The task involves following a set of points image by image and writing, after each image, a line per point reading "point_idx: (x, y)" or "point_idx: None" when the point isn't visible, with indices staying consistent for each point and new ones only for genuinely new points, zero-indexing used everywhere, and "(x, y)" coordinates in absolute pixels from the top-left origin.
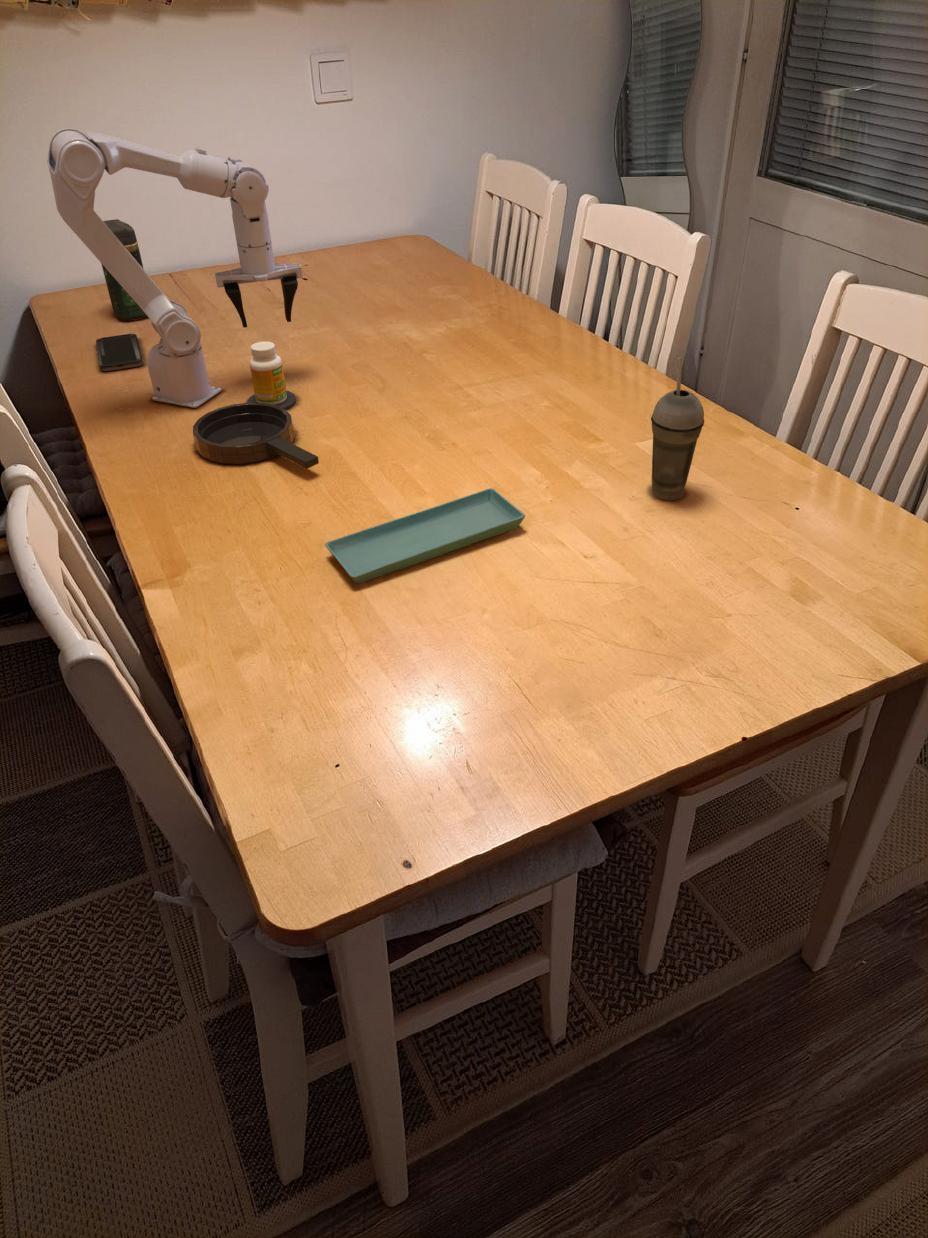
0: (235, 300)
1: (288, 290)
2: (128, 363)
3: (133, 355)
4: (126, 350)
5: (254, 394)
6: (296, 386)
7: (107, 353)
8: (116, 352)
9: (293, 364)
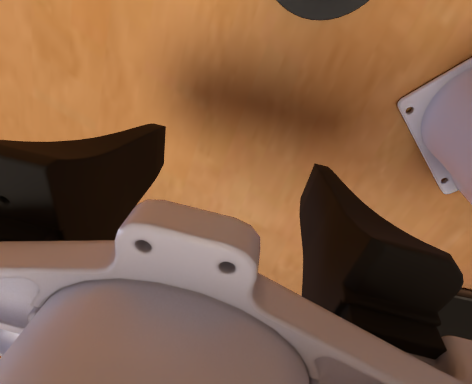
0: (387, 226)
1: (57, 151)
2: (469, 296)
3: (439, 313)
4: None
5: (353, 9)
6: (227, 21)
7: (467, 337)
8: (453, 333)
9: (197, 148)
